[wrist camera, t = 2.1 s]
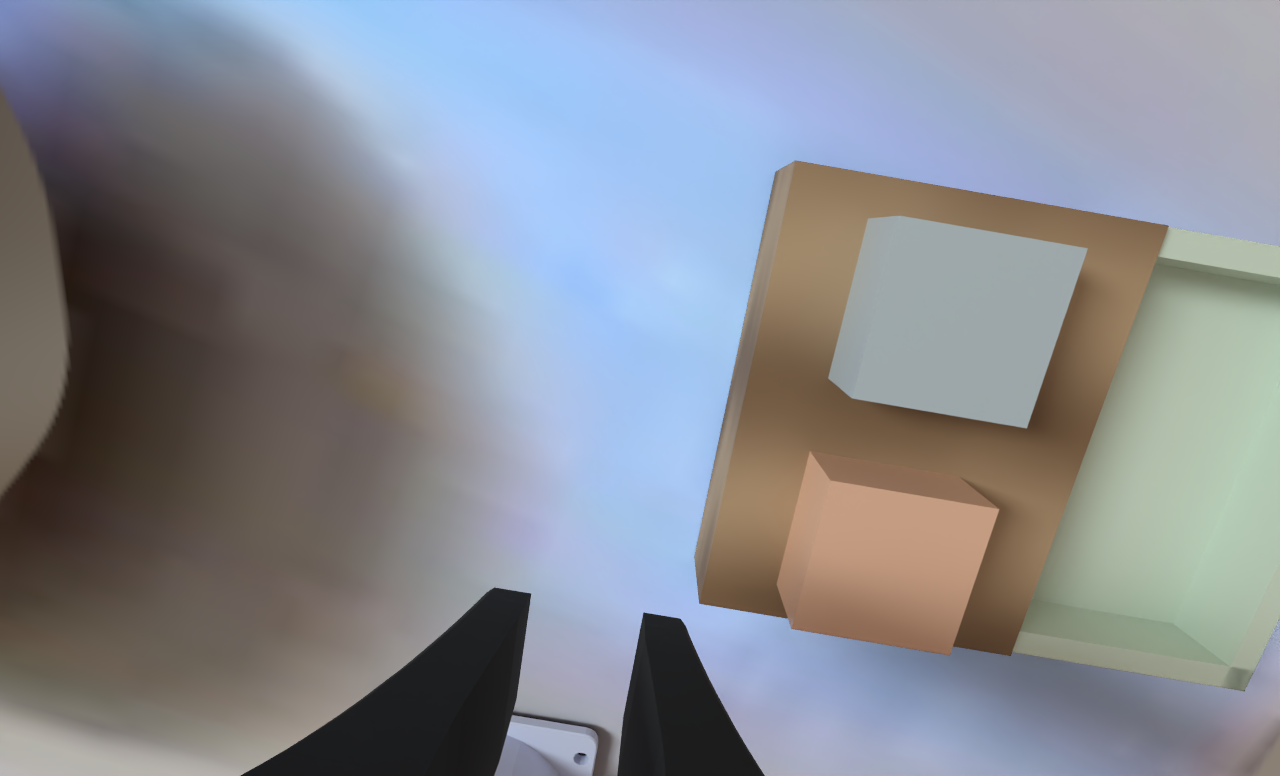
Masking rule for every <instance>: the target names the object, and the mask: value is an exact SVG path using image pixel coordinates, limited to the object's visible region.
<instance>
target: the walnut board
mask: <svg viewBox="0 0 1280 776" xmlns="http://www.w3.org/2000/svg"><path fill="white" fill-rule="evenodd" d="M890 216H905V217H911V218H917V219H922V220H928V221H934V222H940V223H945V224H951V225H957V226H962V227H968V228H974V229H980V230H985V231H991V232H997V233H1003V234H1008V235H1014V236H1020V237H1026V238H1031V239H1037V240H1043V241H1048V242H1054V243H1060V244H1066V245H1071V246H1077V247H1083V248H1088V250H1087V253H1086V256H1085V259H1084V262H1083V265H1082V267H1081V270H1080V273H1079V276H1078V279H1077V282H1076V285H1075V288H1074V291H1073V294H1072V297H1071V300H1070V303H1069V306H1068V309H1067V312H1066V315H1065V318H1064V320H1063V323H1062V326H1061V329H1060V332H1059V335H1058V338H1057V341H1056V344H1055V347H1054V350H1053V353H1052V356H1051V359H1050V362H1049V365H1048V368H1047V371H1046V373H1045V376H1044V379H1043V382H1042V385H1041V388H1040V391H1039V394H1038V397H1037V400H1036V403H1035V406H1034V409H1033V412H1032V415H1031V418H1030V421H1029V424H1028V426H1027V428H1021V427H1016V426H1010V425H1004V424H998V423H992V422H986V421H981V420H975V419H969V418H963V417H957V416H951V415H946V414H940V413H934V412H928V411H922V410H916V409H911V408H905V407H899V406H893V405H887V404H881V403H876V402H870V401H864V400H858V399H852V398H851V397H850V396H848V395H847V394H846V393H845V392H844V391H843V390H841V389H840V388H839V387H838V386H837V385H835V384H834V383H833V382H832V381H831V380H829V379H828V377H829V373H830V369H831V365H832V361H833V357H834V353H835V349H836V345H837V341H838V337H839V333H840V329H841V325H842V321H843V317H844V313H845V309H846V305H847V301H848V297H849V293H850V289H851V285H852V281H853V277H854V273H855V269H856V265H857V261H858V257H859V253H860V249H861V245H862V241H863V237H864V233H865V229H866V225H867V221H868V218H879V217H890ZM1168 227H1169V226H1167V225H1161V224H1155V223H1150V222H1144V221H1138V220H1133V219H1127V218H1121V217H1115V216H1110V215H1104V214H1098V213H1093V212H1087V211H1081V210H1075V209H1070V208H1064V207H1058V206H1053V205H1047V204H1041V203H1035V202H1030V201H1024V200H1018V199H1013V198H1007V197H1001V196H995V195H990V194H984V193H978V192H973V191H967V190H961V189H955V188H950V187H944V186H938V185H933V184H927V183H921V182H915V181H910V180H904V179H898V178H893V177H887V176H881V175H875V174H870V173H864V172H858V171H853V170H847V169H841V168H835V167H830V166H824V165H818V164H813V163H807V162H801V161H794V162H792V163H791V164H789V165H787V166H785V167H783V168H782V169H780V170H778V171H776V172H775V177H774V182H773V186H772V191H771V196H770V200H769V205H768V210H767V215H766V219H765V224H764V229H763V234H762V238H761V243H760V248H759V253H758V257H757V262H756V267H755V272H754V276H753V281H752V286H751V291H750V295H749V300H748V305H747V310H746V314H745V319H744V324H743V329H742V333H741V338H740V343H739V348H738V352H737V357H736V362H735V367H734V371H733V376H732V381H731V386H730V390H729V395H728V400H727V405H726V409H725V414H724V419H723V424H722V428H721V433H720V438H719V442H718V447H717V452H716V457H715V461H714V466H713V471H712V476H711V480H710V485H709V490H708V495H707V499H706V504H705V509H704V514H703V518H702V523H701V528H700V533H699V537H698V542H697V547H696V552H695V556H694V558H695V567H696V577H697V586H698V595H699V604H705V605H711V606H717V607H723V608H729V609H735V610H740V611H746V612H752V613H758V614H764V615H770V616H776V617H782V618H788V617H787V614H786V611H785V608H784V605H783V602H782V599H781V596H780V593H779V590H778V587H777V580H778V576H779V573H780V569H781V565H782V561H783V557H784V553H785V549H786V545H787V541H788V537H789V533H790V529H791V525H792V521H793V517H794V513H795V509H796V505H797V501H798V497H799V493H800V489H801V485H802V481H803V477H804V473H805V469H806V465H807V461H808V457H809V453H810V451H812V452H818V453H824V454H829V455H835V456H841V457H847V458H853V459H859V460H865V461H871V462H876V463H882V464H888V465H894V466H900V467H906V468H912V469H917V470H923V471H929V472H935V473H941V474H947V475H953V476H958V477H960V478H961V479H962V480H964V481H965V482H966V483H967V484H969V485H970V486H971V487H972V488H974V489H975V490H976V491H977V492H979V493H980V494H981V495H982V496H984V497H985V498H986V499H987V500H988V501H990V502H991V503H992V504H993V505H995V506H996V507H997V508H998V509H999V512H998V515H997V518H996V521H995V524H994V527H993V530H992V533H991V535H990V538H989V541H988V544H987V547H986V550H985V553H984V556H983V559H982V562H981V565H980V568H979V571H978V574H977V577H976V580H975V583H974V586H973V588H972V591H971V594H970V597H969V600H968V603H967V606H966V609H965V612H964V615H963V618H962V621H961V624H960V627H959V630H958V633H957V636H956V639H955V641H954V644H953V646H955V647H961V648H967V649H973V650H979V651H984V652H990V653H996V654H1002V655H1008V656H1011V654H1012V651H1013V648H1014V645H1015V643H1016V640H1017V637H1018V635H1019V632H1020V629H1021V626H1022V624H1023V621H1024V618H1025V616H1026V613H1027V610H1028V607H1029V605H1030V602H1031V599H1032V597H1033V594H1034V591H1035V588H1036V586H1037V583H1038V580H1039V578H1040V575H1041V572H1042V569H1043V567H1044V564H1045V561H1046V558H1047V556H1048V553H1049V550H1050V548H1051V545H1052V542H1053V539H1054V537H1055V534H1056V531H1057V529H1058V526H1059V523H1060V520H1061V518H1062V515H1063V512H1064V510H1065V507H1066V504H1067V501H1068V499H1069V496H1070V493H1071V491H1072V488H1073V485H1074V482H1075V480H1076V477H1077V474H1078V472H1079V469H1080V466H1081V463H1082V461H1083V458H1084V455H1085V453H1086V450H1087V447H1088V444H1089V442H1090V439H1091V436H1092V433H1093V431H1094V428H1095V425H1096V423H1097V420H1098V417H1099V414H1100V412H1101V409H1102V406H1103V404H1104V401H1105V398H1106V395H1107V393H1108V390H1109V387H1110V385H1111V382H1112V379H1113V376H1114V374H1115V371H1116V368H1117V366H1118V363H1119V360H1120V357H1121V355H1122V352H1123V349H1124V347H1125V344H1126V341H1127V338H1128V336H1129V333H1130V330H1131V328H1132V325H1133V322H1134V319H1135V317H1136V314H1137V311H1138V308H1139V306H1140V303H1141V300H1142V298H1143V295H1144V292H1145V289H1146V287H1147V284H1148V281H1149V279H1150V276H1151V273H1152V270H1153V268H1154V265H1155V262H1156V260H1157V257H1158V254H1159V251H1160V249H1161V246H1162V243H1163V241H1164V238H1165V235H1166V232H1167V230H1168Z"/></svg>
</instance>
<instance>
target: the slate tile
mask: <svg viewBox="0 0 1280 776" xmlns="http://www.w3.org/2000/svg"><path fill="white" fill-rule="evenodd" d="M1087 250H1088V248H1083V247H1077V246H1071V245H1066V244H1060V243H1054V242H1048V241H1043V240H1037V239H1031V238H1026V237H1020V236H1014V235H1008V234H1003V233H997V232H991V231H985V230H980V229H974V228H968V227H962V226H957V225H951V224H945V223H940V222H934V221H928V220H922V219H917V218H911V217H905V216H890V217H879V218H868V221H867V225H866V229H865V233H864V237H863V241H862V245H861V249H860V253H859V257H858V261H857V265H856V269H855V273H854V277H853V281H852V285H851V289H850V293H849V297H848V301H847V305H846V309H845V313H844V317H843V321H842V325H841V329H840V333H839V337H838V341H837V345H836V349H835V353H834V357H833V361H832V365H831V369H830V373H829V377H828V379H829V380H831V381H832V382H833V383H834V384H835V385H837V386H838V387H839V388H840V389H841V390H843V391H844V392H845V393H846V394H847V395H848V396H850V397H851V398H852V399H858V400H864V401H870V402H876V403H881V404H887V405H893V406H899V407H905V408H911V409H916V410H922V411H928V412H934V413H940V414H946V415H951V416H957V417H963V418H969V419H975V420H981V421H986V422H992V423H998V424H1004V425H1010V426H1016V427H1021V428H1027V426H1028V424H1029V421H1030V418H1031V415H1032V412H1033V409H1034V406H1035V403H1036V400H1037V397H1038V394H1039V391H1040V388H1041V385H1042V382H1043V379H1044V376H1045V373H1046V371H1047V368H1048V365H1049V362H1050V359H1051V356H1052V353H1053V350H1054V347H1055V344H1056V341H1057V338H1058V335H1059V332H1060V329H1061V326H1062V323H1063V320H1064V318H1065V315H1066V312H1067V309H1068V306H1069V303H1070V300H1071V297H1072V294H1073V291H1074V288H1075V285H1076V282H1077V279H1078V276H1079V273H1080V270H1081V267H1082V265H1083V262H1084V259H1085V256H1086V253H1087Z"/></svg>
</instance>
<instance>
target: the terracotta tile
mask: <svg viewBox="0 0 1280 776" xmlns="http://www.w3.org/2000/svg"><path fill="white" fill-rule="evenodd" d="M998 512H999V509H998V508H997V507H996V506H995V505H993V504H992V503H991V502H990V501H988V500H987V499H986V498H985V497H984V496H982V495H981V494H980V493H979V492H977V491H976V490H975V489H974V488H972V487H971V486H970V485H969V484H967V483H966V482H965V481H964V480H962V479H961V478H960V477H958V476H953V475H947V474H941V473H935V472H929V471H923V470H917V469H912V468H906V467H900V466H894V465H888V464H882V463H876V462H871V461H865V460H859V459H853V458H847V457H841V456H835V455H829V454H824V453H818V452H812V451H810V453H809V457H808V461H807V465H806V469H805V473H804V477H803V481H802V485H801V489H800V493H799V497H798V501H797V505H796V509H795V513H794V517H793V521H792V525H791V529H790V533H789V537H788V541H787V545H786V549H785V553H784V557H783V561H782V565H781V569H780V573H779V576H778V580H777V587H778V590H779V593H780V596H781V599H782V602H783V605H784V608H785V611H786V614H787V617H788V620H789V623H790V626H791V629H795V630H801V631H807V632H813V633H819V634H825V635H831V636H837V637H843V638H849V639H855V640H861V641H867V642H873V643H879V644H885V645H891V646H897V647H903V648H909V649H915V650H921V651H926V652H932V653H938V654H944V655H950V653H951V650H952V647H953V644H954V641H955V639H956V636H957V633H958V630H959V627H960V624H961V621H962V618H963V615H964V612H965V609H966V606H967V603H968V600H969V597H970V594H971V591H972V588H973V586H974V583H975V580H976V577H977V574H978V571H979V568H980V565H981V562H982V559H983V556H984V553H985V550H986V547H987V544H988V541H989V538H990V535H991V533H992V530H993V527H994V524H995V521H996V518H997V515H998Z"/></svg>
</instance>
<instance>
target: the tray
mask: <svg viewBox="0 0 1280 776" xmlns="http://www.w3.org/2000/svg"><path fill="white" fill-rule="evenodd" d="M1279 619H1280V247H1279V246H1274V245H1268V244H1262V243H1257V242H1251V241H1245V240H1239V239H1234V238H1228V237H1222V236H1216V235H1211V234H1205V233H1199V232H1194V231H1188V230H1182V229H1176V228H1171V227H1168V230H1167V232H1166V235H1165V238H1164V241H1163V243H1162V246H1161V249H1160V251H1159V254H1158V257H1157V260H1156V262H1155V265H1154V268H1153V270H1152V273H1151V276H1150V279H1149V281H1148V284H1147V287H1146V289H1145V292H1144V295H1143V298H1142V300H1141V303H1140V306H1139V308H1138V311H1137V314H1136V317H1135V319H1134V322H1133V325H1132V328H1131V330H1130V333H1129V336H1128V338H1127V341H1126V344H1125V347H1124V349H1123V352H1122V355H1121V357H1120V360H1119V363H1118V366H1117V368H1116V371H1115V374H1114V376H1113V379H1112V382H1111V385H1110V387H1109V390H1108V393H1107V395H1106V398H1105V401H1104V404H1103V406H1102V409H1101V412H1100V414H1099V417H1098V420H1097V423H1096V425H1095V428H1094V431H1093V433H1092V436H1091V439H1090V442H1089V444H1088V447H1087V450H1086V453H1085V455H1084V458H1083V461H1082V463H1081V466H1080V469H1079V472H1078V474H1077V477H1076V480H1075V482H1074V485H1073V488H1072V491H1071V493H1070V496H1069V499H1068V501H1067V504H1066V507H1065V510H1064V512H1063V515H1062V518H1061V520H1060V523H1059V526H1058V529H1057V531H1056V534H1055V537H1054V539H1053V542H1052V545H1051V548H1050V550H1049V553H1048V556H1047V558H1046V561H1045V564H1044V567H1043V569H1042V572H1041V575H1040V578H1039V580H1038V583H1037V586H1036V588H1035V591H1034V594H1033V597H1032V599H1031V602H1030V605H1029V607H1028V610H1027V613H1026V616H1025V618H1024V621H1023V624H1022V626H1021V629H1020V632H1019V635H1018V637H1017V640H1016V643H1015V645H1014V648H1013V651H1012V652H1014V653H1020V654H1026V655H1032V656H1038V657H1044V658H1050V659H1056V660H1062V661H1068V662H1074V663H1080V664H1085V665H1091V666H1097V667H1103V668H1109V669H1115V670H1121V671H1127V672H1133V673H1139V674H1145V675H1151V676H1157V677H1163V678H1169V679H1175V680H1181V681H1187V682H1193V683H1198V684H1204V685H1210V686H1216V687H1222V688H1228V689H1234V690H1240V691H1245V689H1246V687H1247V685H1248V682H1249V680H1250V678H1251V676H1252V674H1253V672H1254V670H1255V668H1256V666H1257V664H1258V662H1259V660H1260V658H1261V656H1262V654H1263V652H1264V649H1265V647H1266V645H1267V643H1268V641H1269V639H1270V637H1271V635H1272V633H1273V631H1274V629H1275V627H1276V625H1277V623H1278V621H1279Z"/></svg>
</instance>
